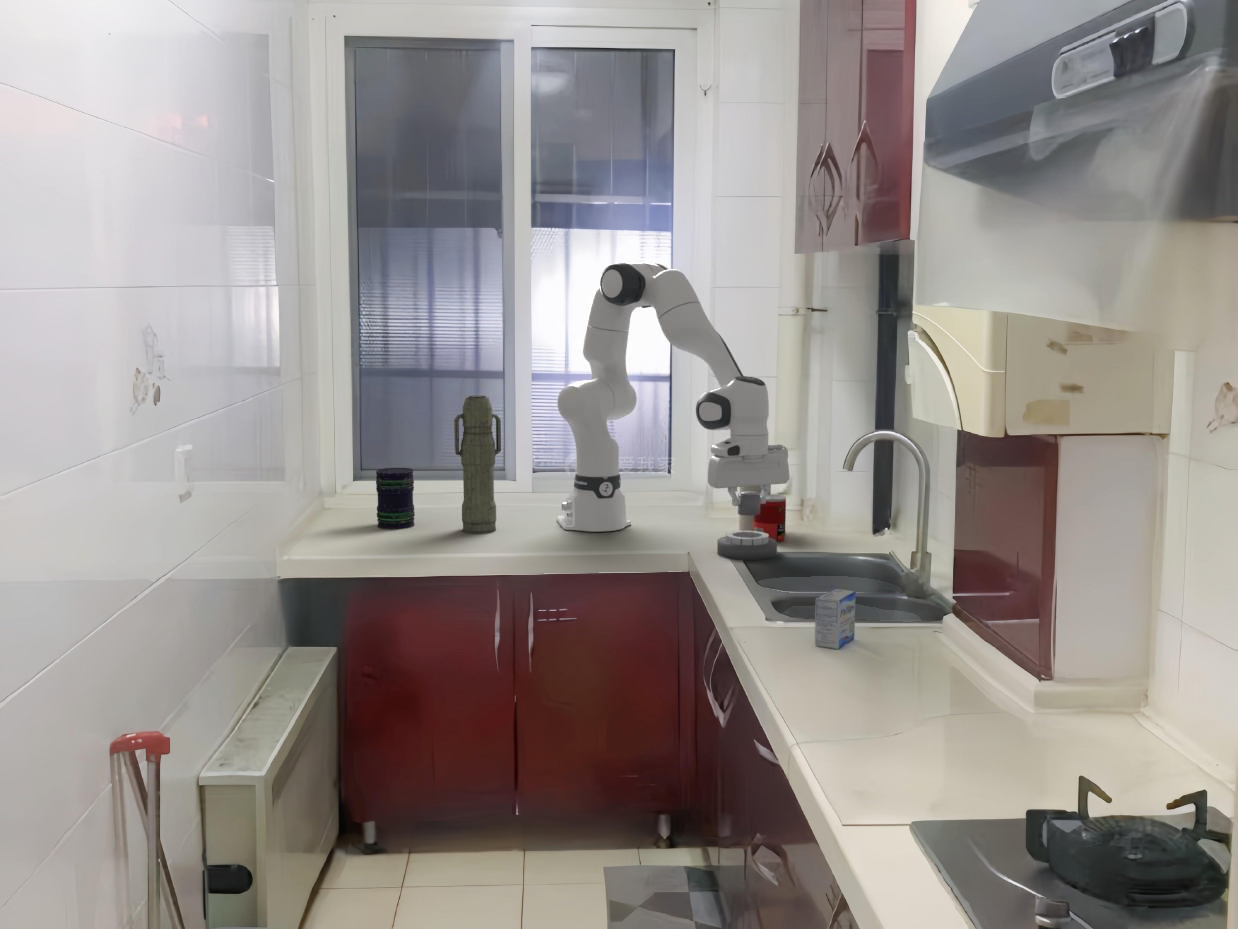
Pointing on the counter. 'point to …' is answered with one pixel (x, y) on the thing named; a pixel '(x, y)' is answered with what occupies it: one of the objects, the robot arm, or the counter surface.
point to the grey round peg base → (747, 545)
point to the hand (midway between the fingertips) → (748, 504)
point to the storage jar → (395, 498)
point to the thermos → (478, 463)
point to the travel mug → (748, 520)
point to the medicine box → (835, 618)
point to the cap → (749, 503)
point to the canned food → (772, 517)
